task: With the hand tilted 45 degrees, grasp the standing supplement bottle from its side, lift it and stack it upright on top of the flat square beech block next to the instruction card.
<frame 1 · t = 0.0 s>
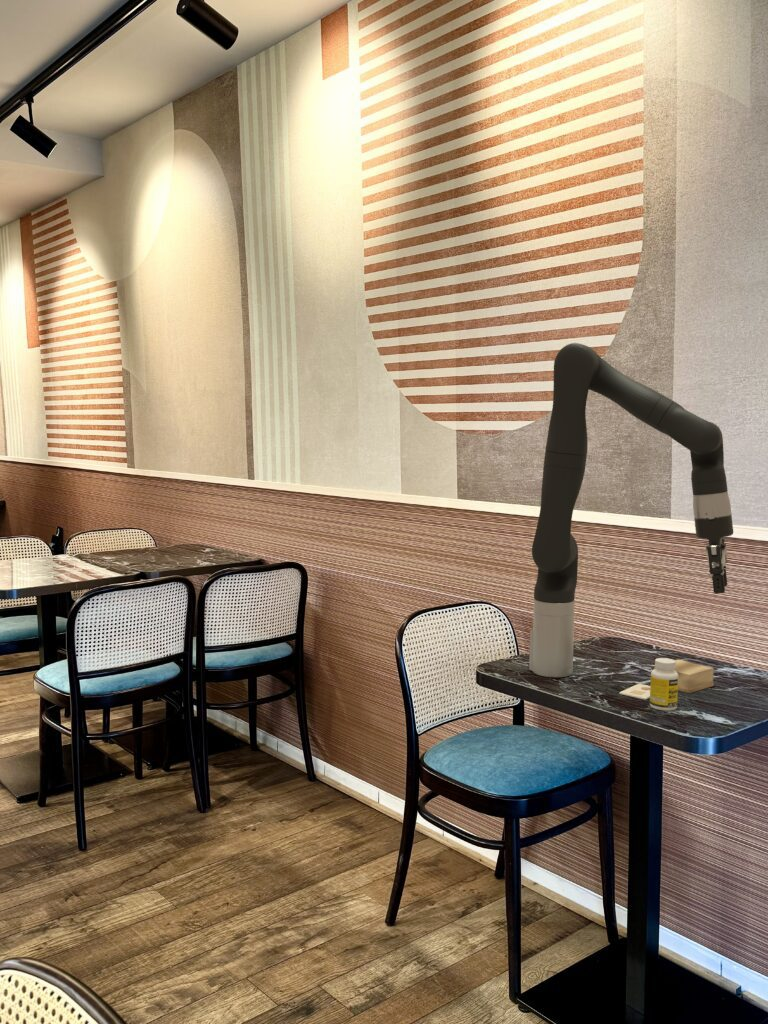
hand: (720, 589, 192), 22 cm above the table, fingers open, 8 cm apart
instruction card: (642, 692, 194), on the table
beech block: (683, 684, 200), on the table
supplement bottle: (663, 708, 184), on the table
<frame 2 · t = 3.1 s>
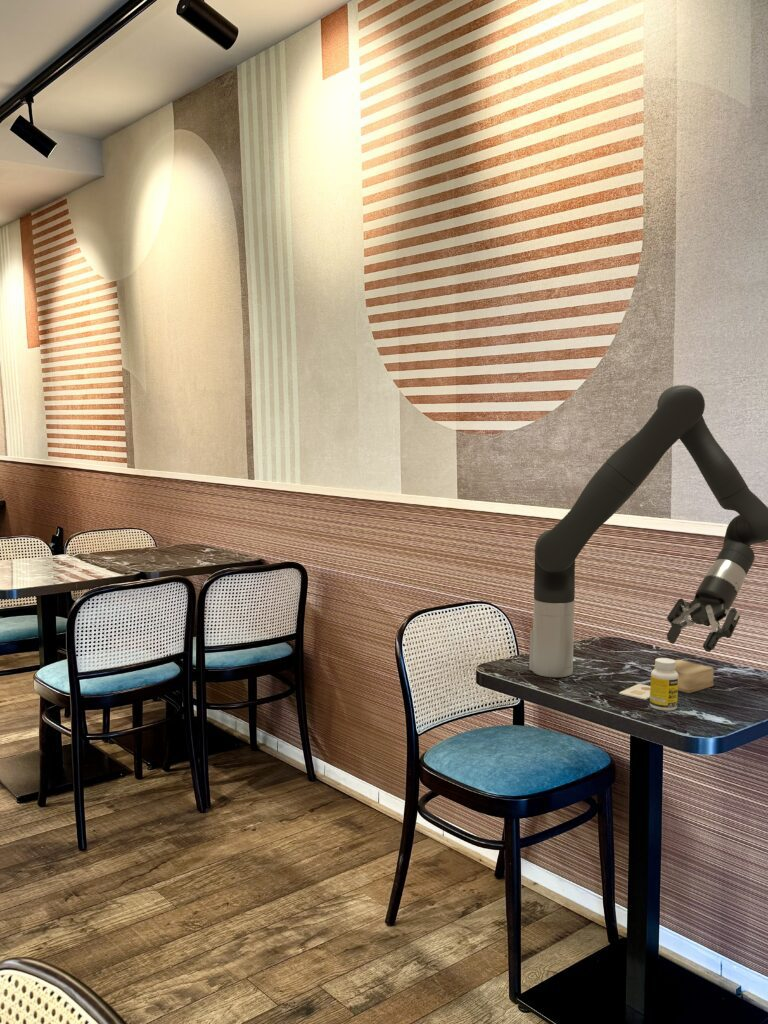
hand: (687, 645, 187), 12 cm above the table, fingers open, 8 cm apart
nothing on the table moved.
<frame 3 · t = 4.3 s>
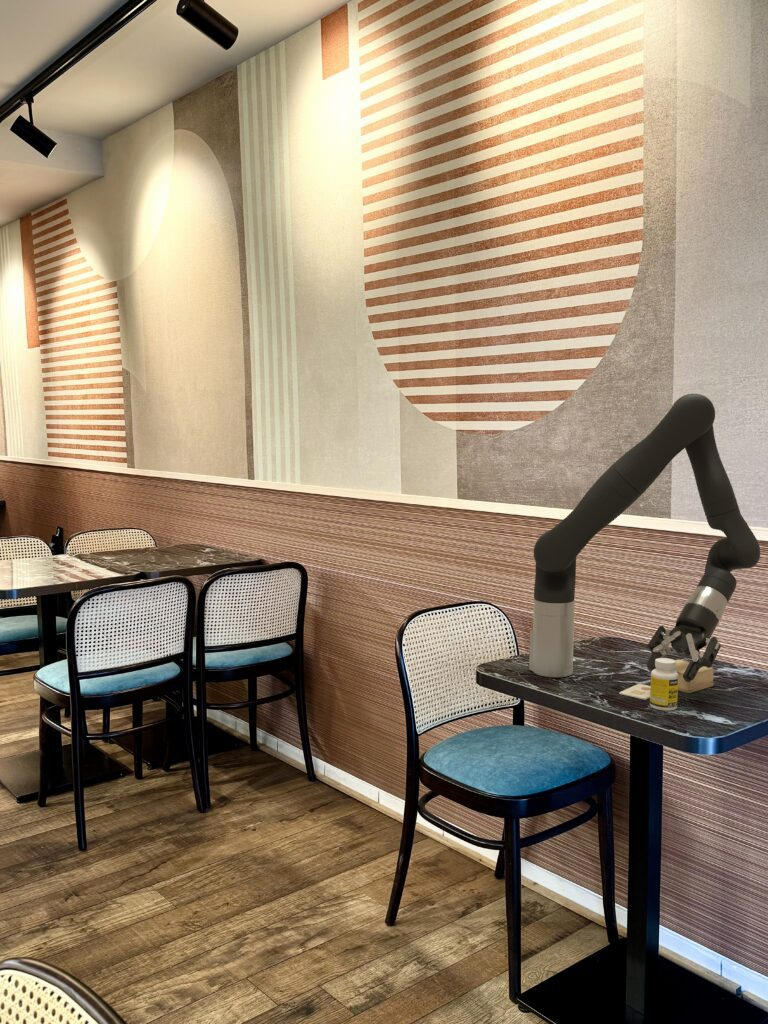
hand: (667, 675, 184), 7 cm above the table, fingers open, 8 cm apart
nothing on the table moved.
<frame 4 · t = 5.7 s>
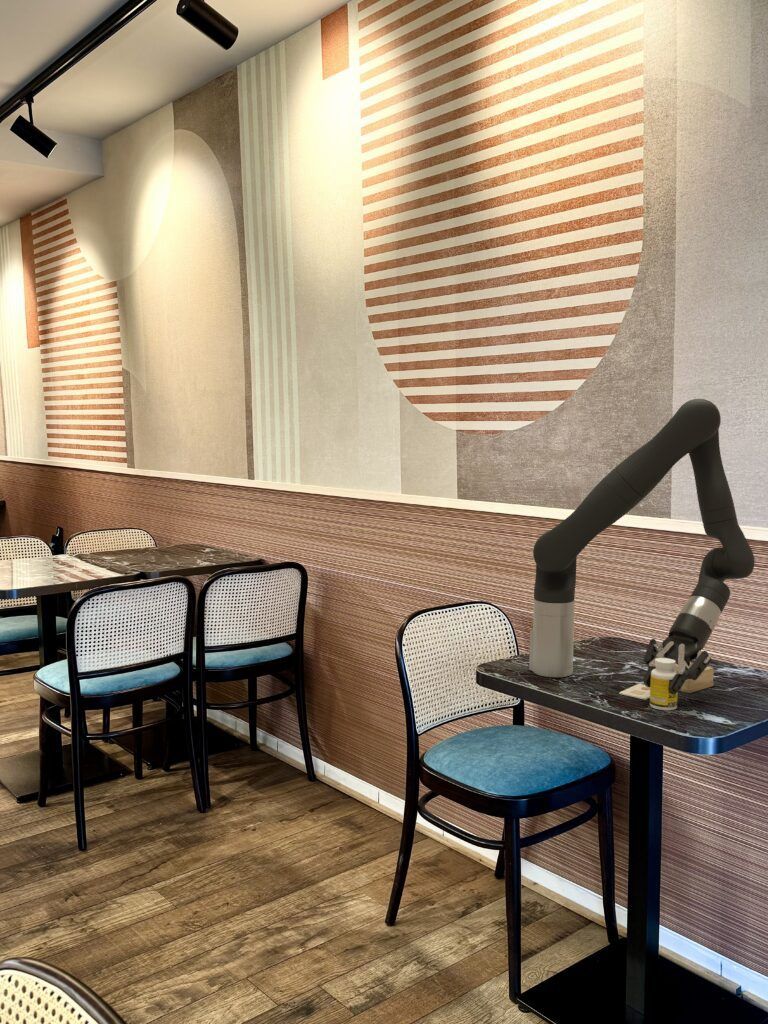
hand: (658, 688, 182), 4 cm above the table, fingers closed on supplement bottle, 5 cm apart
supplement bottle: (663, 708, 184), on the table, touching gripper
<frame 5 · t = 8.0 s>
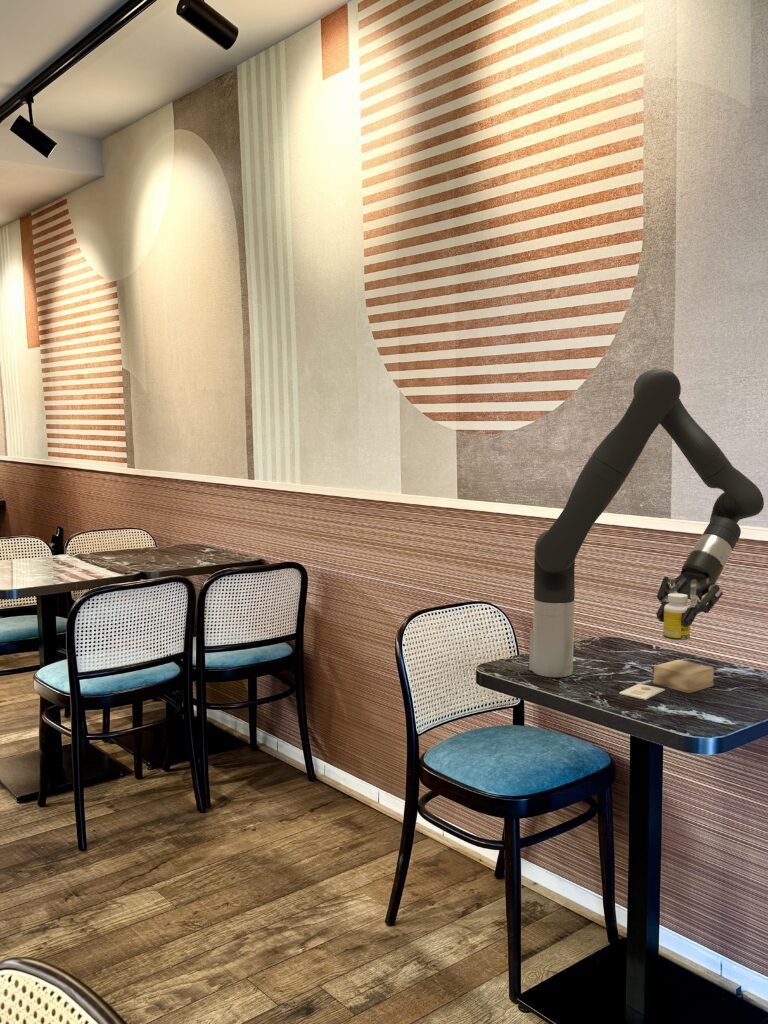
hand: (671, 621, 189), 16 cm above the table, fingers closed on supplement bottle, 5 cm apart
supplement bottle: (676, 641, 191), point 12 cm above the table, touching gripper
when the fingers open (9 cm above the table, at t = 10.6 s): supplement bottle stays where it is, resting on beech block.
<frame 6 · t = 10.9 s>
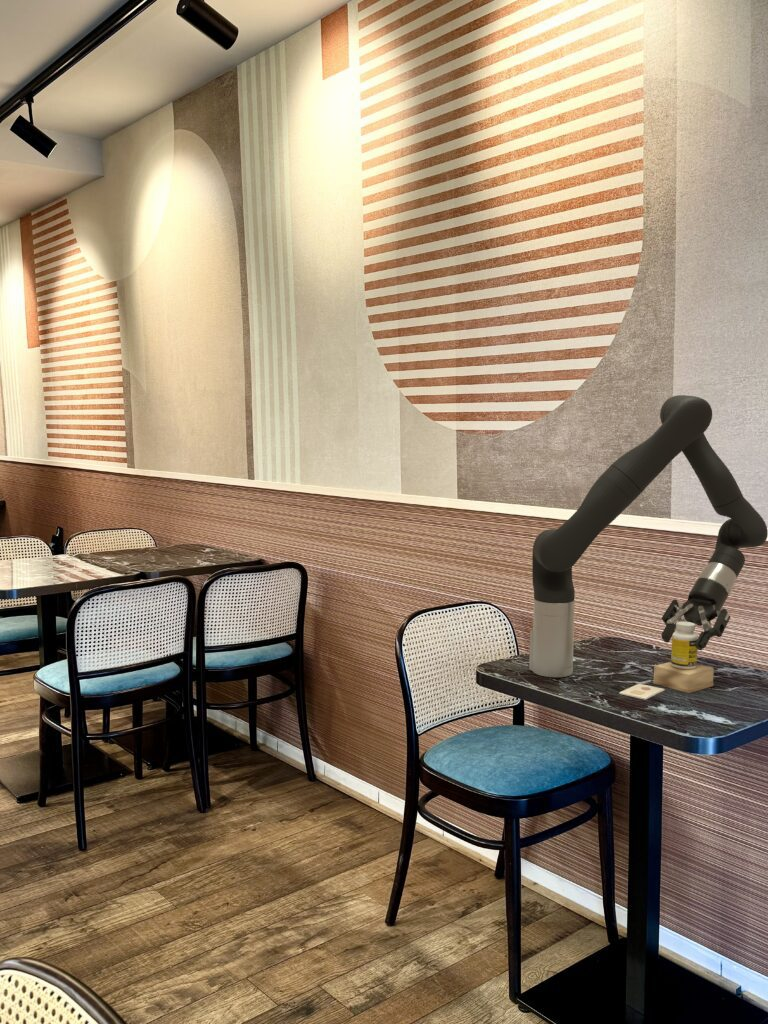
hand: (680, 644, 198), 9 cm above the table, fingers open, 8 cm apart
supplement bottle: (683, 667, 200), point 4 cm above the table, touching beech block
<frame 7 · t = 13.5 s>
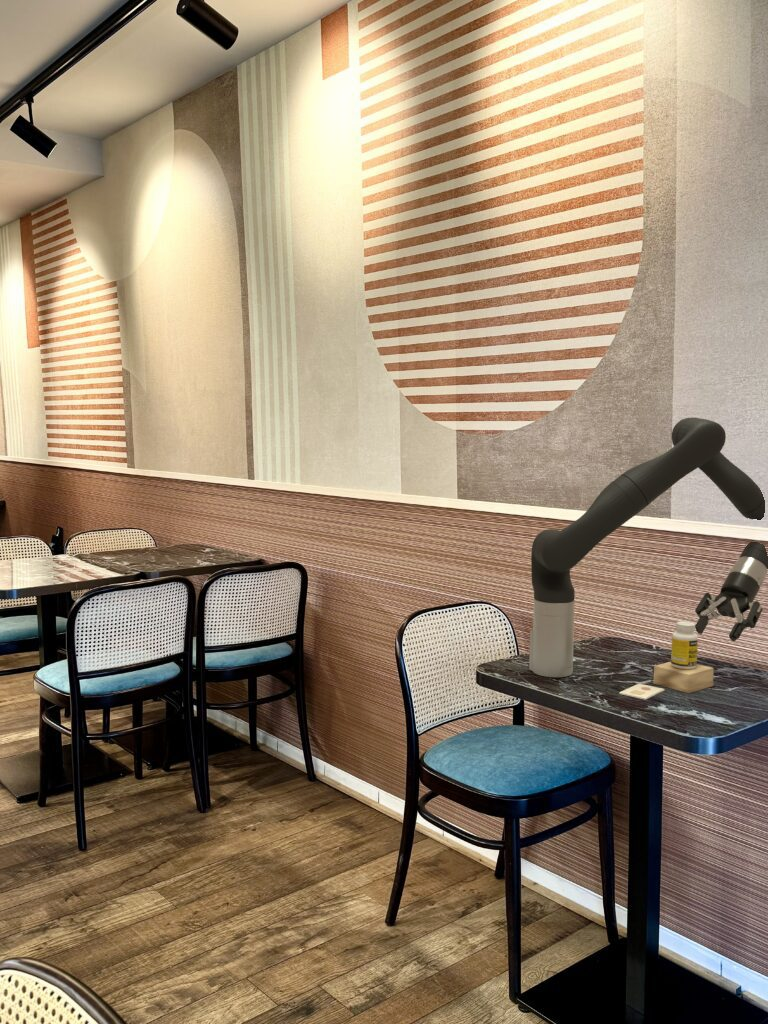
hand: (714, 635, 206), 9 cm above the table, fingers open, 8 cm apart
nothing on the table moved.
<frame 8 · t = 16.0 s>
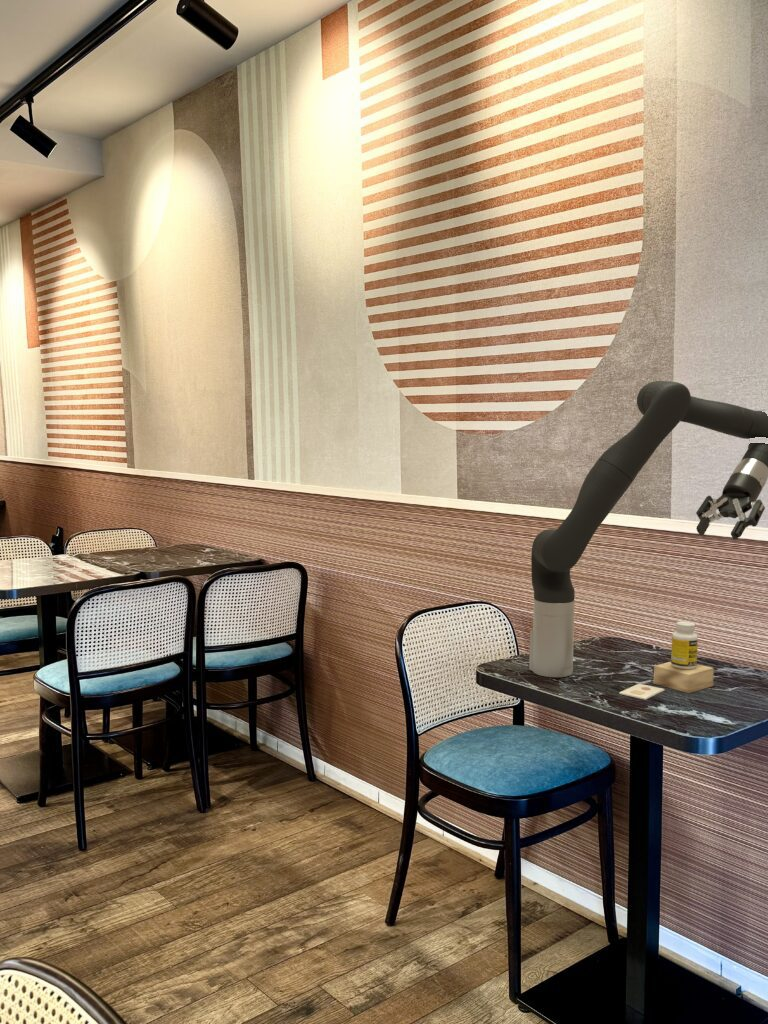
hand: (716, 535, 203), 33 cm above the table, fingers open, 8 cm apart
nothing on the table moved.
at the end: supplement bottle inside the target area on the beech block (0.2 cm from its centre), point 3.8 cm above the beech block's base; supplement bottle tilted 0°; the gripper is holding nothing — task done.
